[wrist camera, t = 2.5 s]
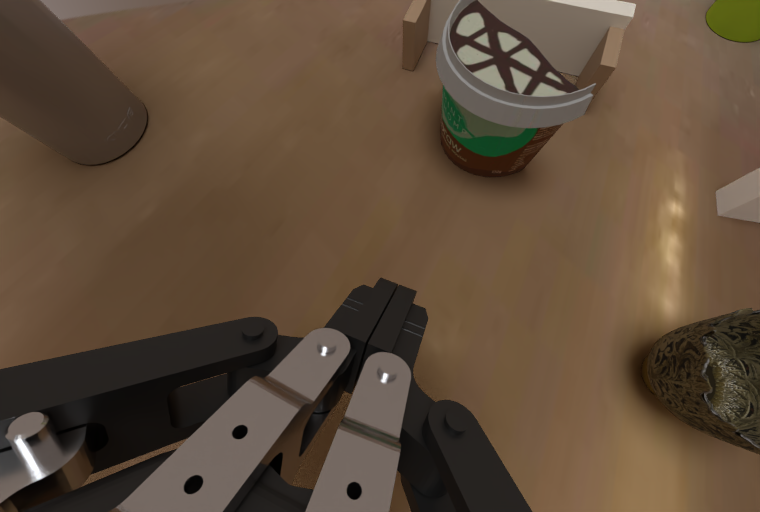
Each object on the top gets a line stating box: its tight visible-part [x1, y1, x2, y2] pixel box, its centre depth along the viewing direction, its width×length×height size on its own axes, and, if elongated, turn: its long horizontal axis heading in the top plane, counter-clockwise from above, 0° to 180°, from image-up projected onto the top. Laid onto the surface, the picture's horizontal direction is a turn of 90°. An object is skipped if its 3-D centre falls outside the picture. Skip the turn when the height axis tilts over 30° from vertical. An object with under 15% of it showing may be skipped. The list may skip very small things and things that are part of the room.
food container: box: [436, 0, 596, 177], centre depth 25 cm, size 12×6×10 cm, turn 32°
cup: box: [641, 308, 760, 454], centre depth 19 cm, size 8×7×8 cm
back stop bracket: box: [403, 0, 636, 102], centre depth 30 cm, size 18×6×6 cm, turn 68°
